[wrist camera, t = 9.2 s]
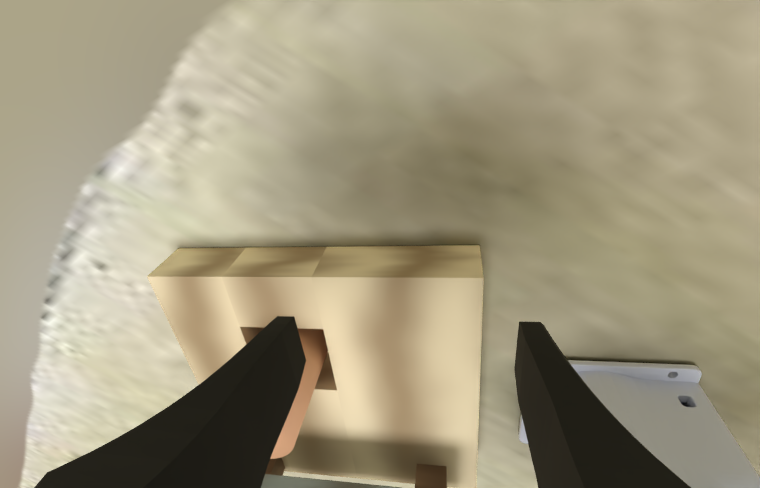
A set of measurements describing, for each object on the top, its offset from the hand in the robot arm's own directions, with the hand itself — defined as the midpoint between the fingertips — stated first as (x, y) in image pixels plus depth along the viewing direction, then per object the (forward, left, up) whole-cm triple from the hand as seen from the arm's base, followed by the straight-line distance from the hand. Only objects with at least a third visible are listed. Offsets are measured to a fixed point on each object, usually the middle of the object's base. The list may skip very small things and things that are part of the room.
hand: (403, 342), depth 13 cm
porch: (+6, +11, -9) cm, 16 cm away
